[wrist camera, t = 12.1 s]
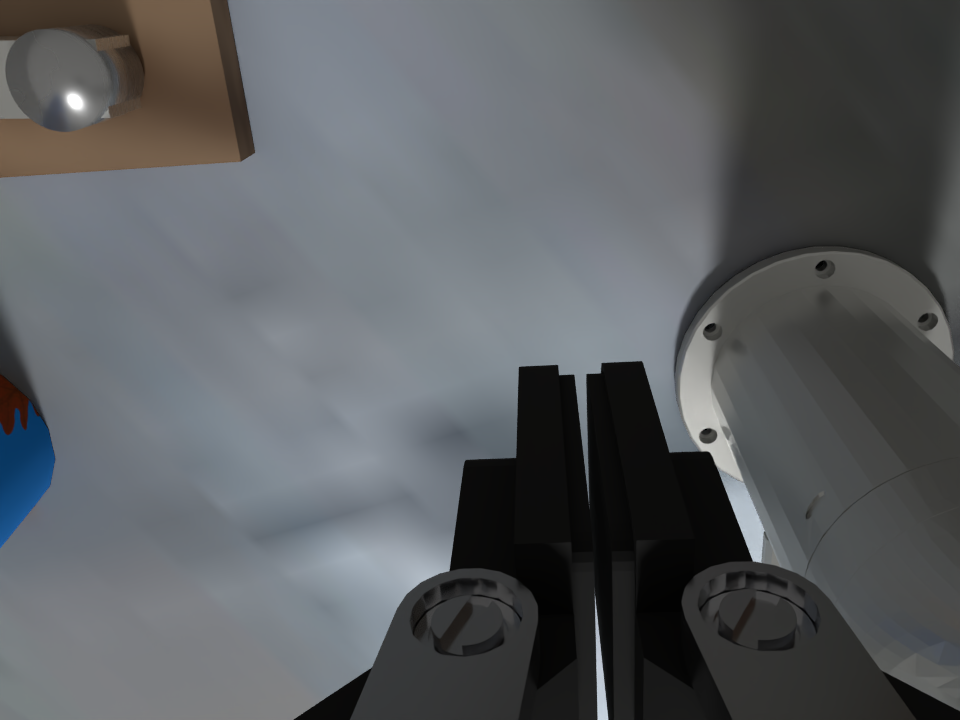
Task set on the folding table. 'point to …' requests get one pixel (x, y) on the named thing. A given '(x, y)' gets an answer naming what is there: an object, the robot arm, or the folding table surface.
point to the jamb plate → (165, 97)
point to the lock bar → (69, 76)
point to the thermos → (21, 458)
